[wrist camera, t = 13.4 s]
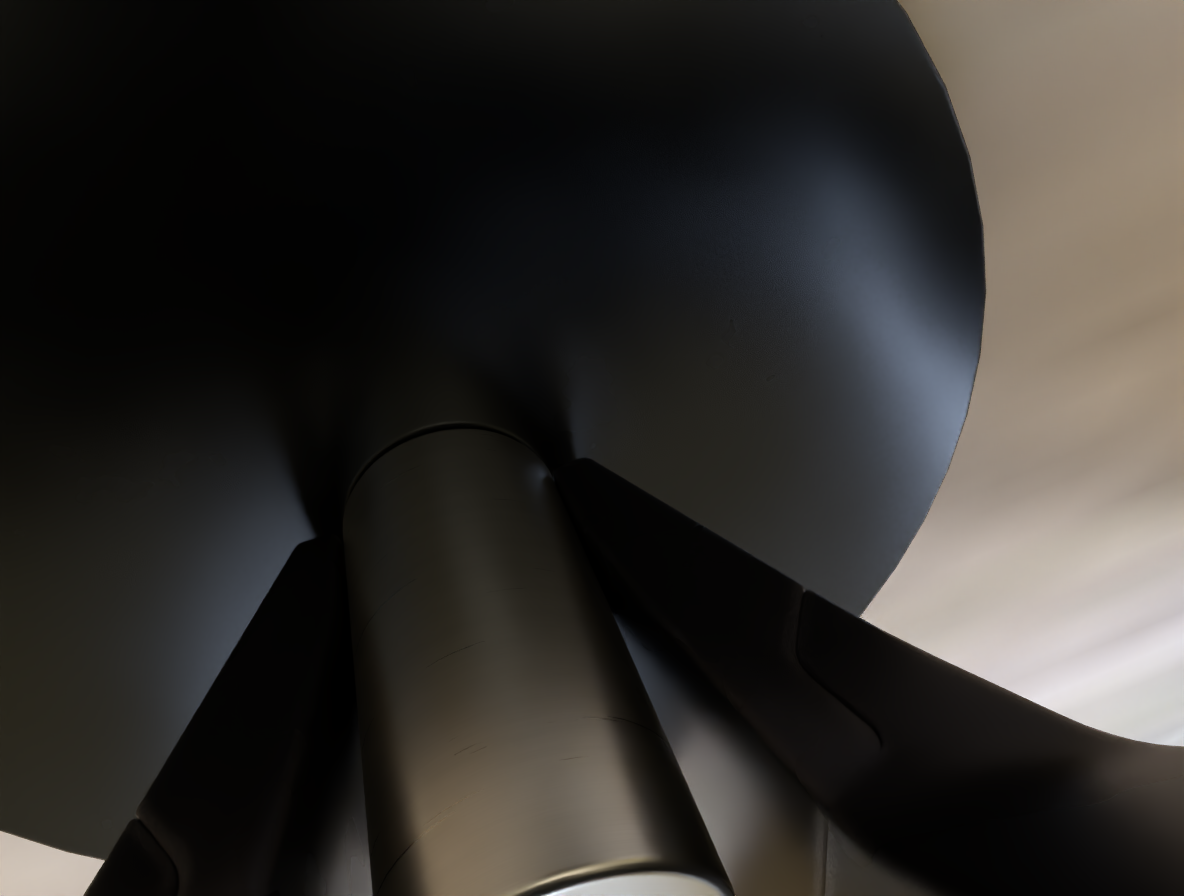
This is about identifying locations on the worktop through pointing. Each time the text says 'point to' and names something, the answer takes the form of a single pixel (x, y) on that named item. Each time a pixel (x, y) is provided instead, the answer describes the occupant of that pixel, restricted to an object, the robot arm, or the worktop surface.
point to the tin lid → (452, 379)
